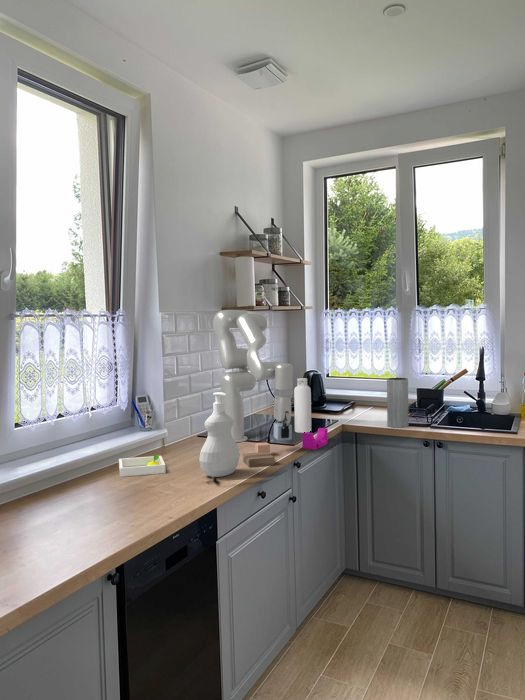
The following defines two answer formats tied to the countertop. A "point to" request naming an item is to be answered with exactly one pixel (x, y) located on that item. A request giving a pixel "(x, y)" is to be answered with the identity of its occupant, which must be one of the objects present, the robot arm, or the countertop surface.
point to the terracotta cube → (262, 447)
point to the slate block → (278, 431)
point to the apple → (153, 461)
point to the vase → (397, 403)
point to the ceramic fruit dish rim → (140, 469)
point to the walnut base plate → (258, 459)
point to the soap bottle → (219, 443)
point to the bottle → (302, 406)
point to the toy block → (315, 443)
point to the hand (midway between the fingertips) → (282, 435)
